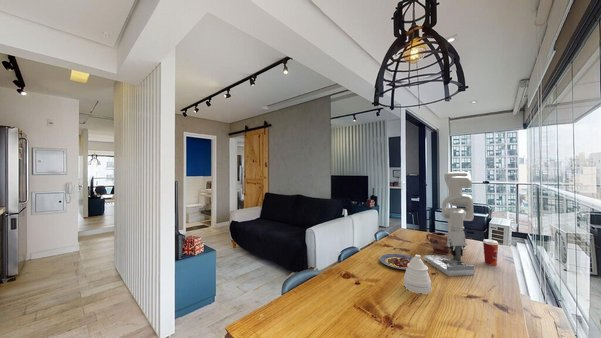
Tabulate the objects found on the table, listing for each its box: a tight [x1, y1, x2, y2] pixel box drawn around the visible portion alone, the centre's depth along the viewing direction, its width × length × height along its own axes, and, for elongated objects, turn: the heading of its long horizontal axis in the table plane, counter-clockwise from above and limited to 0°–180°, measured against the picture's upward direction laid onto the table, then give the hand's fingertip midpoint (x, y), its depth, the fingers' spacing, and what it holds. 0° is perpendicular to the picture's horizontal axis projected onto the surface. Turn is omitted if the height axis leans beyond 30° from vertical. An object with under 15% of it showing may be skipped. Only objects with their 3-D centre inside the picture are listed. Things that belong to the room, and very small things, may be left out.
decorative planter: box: [425, 231, 451, 255], centre depth 173 cm, size 20×12×14 cm, turn 31°
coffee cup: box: [482, 238, 499, 266], centre depth 151 cm, size 8×8×15 cm
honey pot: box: [403, 254, 432, 295], centre depth 121 cm, size 13×13×18 cm
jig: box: [423, 254, 475, 277], centre depth 146 cm, size 24×16×5 cm, turn 4°
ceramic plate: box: [379, 253, 414, 270], centre depth 152 cm, size 26×26×3 cm
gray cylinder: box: [452, 246, 462, 262], centre depth 157 cm, size 4×4×10 cm
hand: (456, 255), depth 157 cm, fingers closed on gray cylinder, 4 cm apart
